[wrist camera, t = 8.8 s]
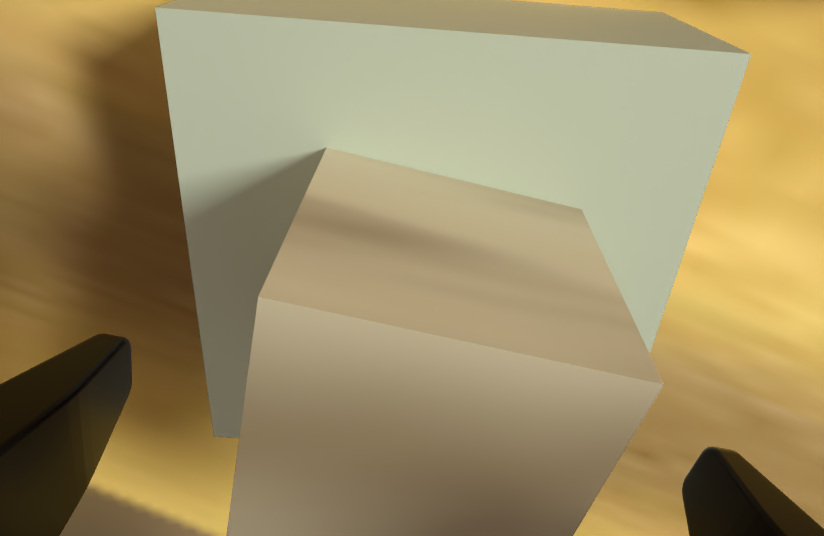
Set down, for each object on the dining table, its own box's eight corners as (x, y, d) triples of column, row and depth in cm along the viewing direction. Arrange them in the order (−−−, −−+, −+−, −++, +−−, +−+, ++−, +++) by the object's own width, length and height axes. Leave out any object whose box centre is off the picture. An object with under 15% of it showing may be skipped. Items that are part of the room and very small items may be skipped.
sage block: (573, 343, 20) (611, 466, 15) (263, 319, 20) (213, 436, 15) (658, 10, 15) (751, 54, 10) (239, -23, 14) (155, 7, 10)
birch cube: (501, 397, 14) (528, 608, 10) (290, 352, 14) (223, 554, 10) (581, 209, 12) (664, 384, 7) (326, 147, 11) (258, 296, 7)
